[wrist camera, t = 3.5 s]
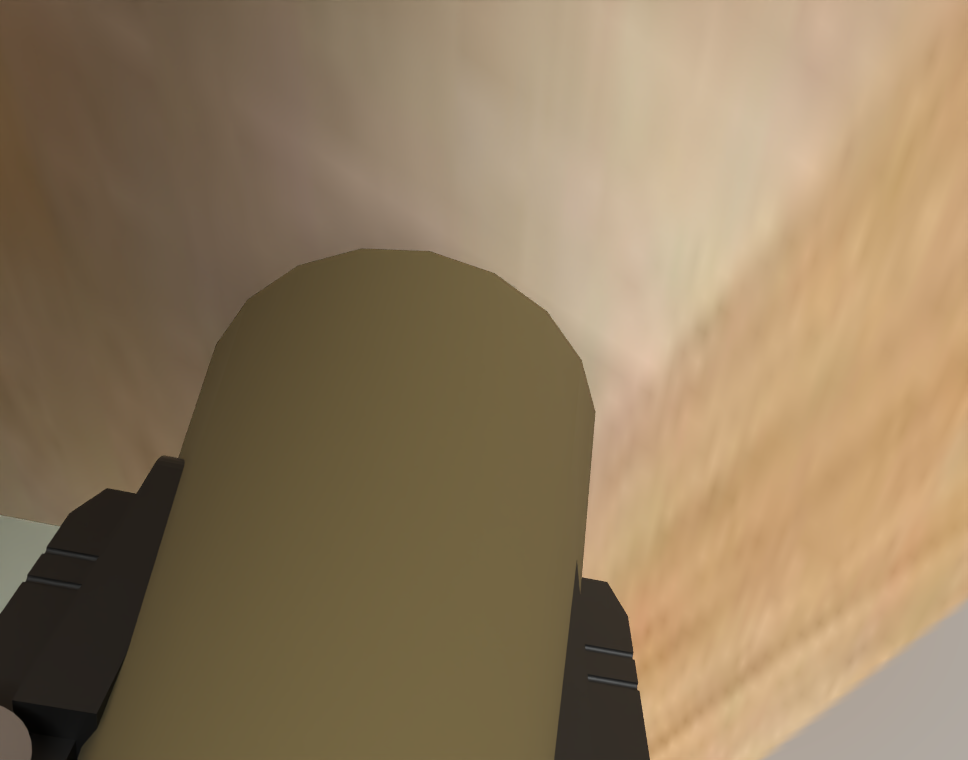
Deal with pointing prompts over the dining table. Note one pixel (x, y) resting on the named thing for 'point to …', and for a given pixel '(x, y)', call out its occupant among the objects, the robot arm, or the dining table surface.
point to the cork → (367, 528)
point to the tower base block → (20, 551)
